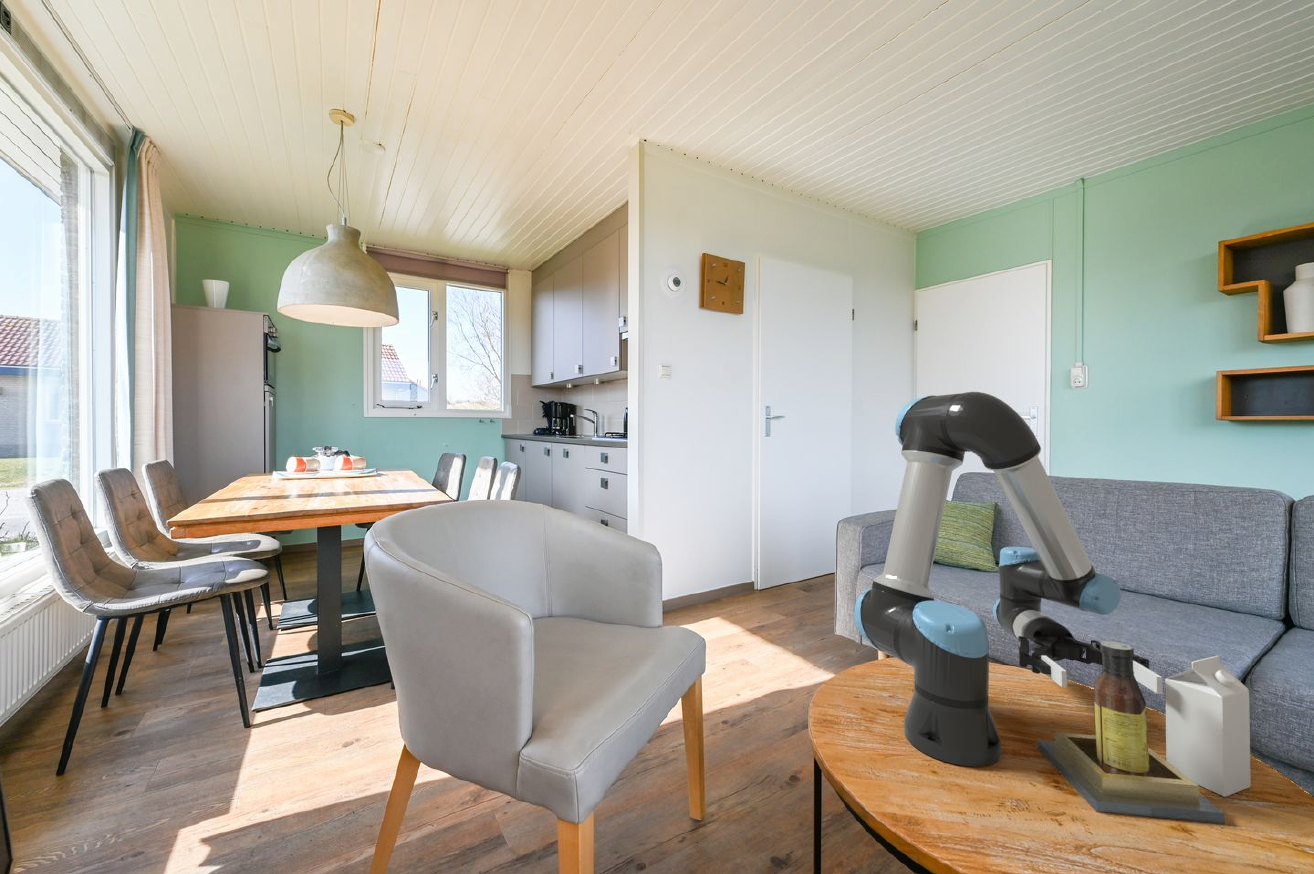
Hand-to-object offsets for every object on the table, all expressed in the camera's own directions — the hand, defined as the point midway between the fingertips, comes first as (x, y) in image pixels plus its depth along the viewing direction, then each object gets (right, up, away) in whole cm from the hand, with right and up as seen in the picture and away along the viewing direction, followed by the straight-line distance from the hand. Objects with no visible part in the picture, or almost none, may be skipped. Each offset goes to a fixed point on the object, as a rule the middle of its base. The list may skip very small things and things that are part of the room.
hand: (1111, 682), depth 87 cm
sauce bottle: (-1, -13, -3) cm, 13 cm away
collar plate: (-1, -14, -3) cm, 15 cm away
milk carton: (+13, -14, -2) cm, 20 cm away
